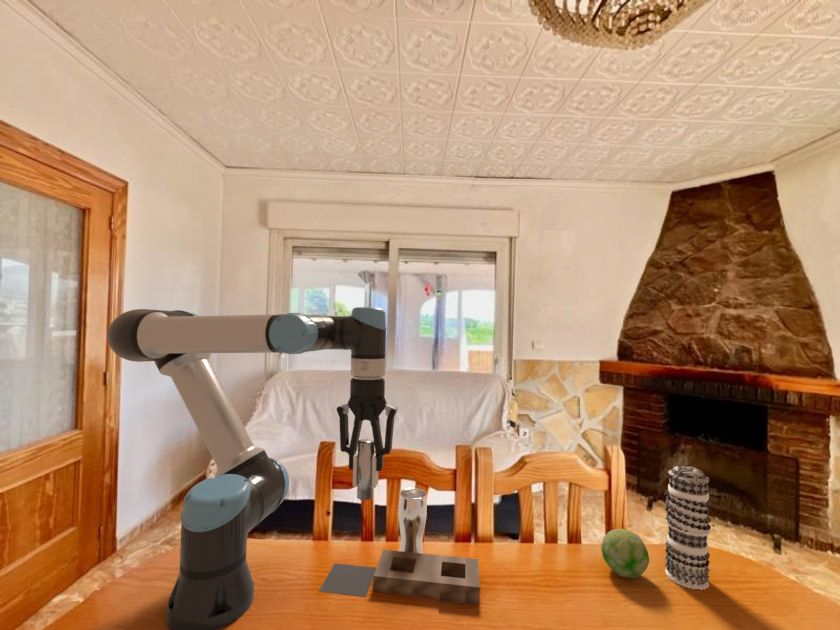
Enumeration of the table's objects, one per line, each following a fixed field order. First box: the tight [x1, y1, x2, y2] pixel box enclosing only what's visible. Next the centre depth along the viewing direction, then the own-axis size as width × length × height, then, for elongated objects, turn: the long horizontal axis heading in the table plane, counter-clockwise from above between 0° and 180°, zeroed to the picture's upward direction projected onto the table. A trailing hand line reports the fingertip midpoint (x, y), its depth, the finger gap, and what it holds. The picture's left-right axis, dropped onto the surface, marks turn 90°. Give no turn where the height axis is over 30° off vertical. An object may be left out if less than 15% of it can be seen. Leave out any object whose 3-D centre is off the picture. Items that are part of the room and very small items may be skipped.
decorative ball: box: [600, 528, 650, 579], centre depth 94 cm, size 10×10×10 cm
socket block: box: [372, 549, 481, 606], centre depth 88 cm, size 22×10×4 cm, turn 84°
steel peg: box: [356, 438, 375, 501], centre depth 88 cm, size 4×4×12 cm
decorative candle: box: [664, 465, 713, 591], centre depth 93 cm, size 9×9×25 cm
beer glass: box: [398, 487, 428, 554], centre depth 98 cm, size 7×7×15 cm
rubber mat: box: [318, 562, 377, 598], centre depth 88 cm, size 10×10×1 cm
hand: (365, 484), depth 88 cm, fingers closed on steel peg, 3 cm apart
